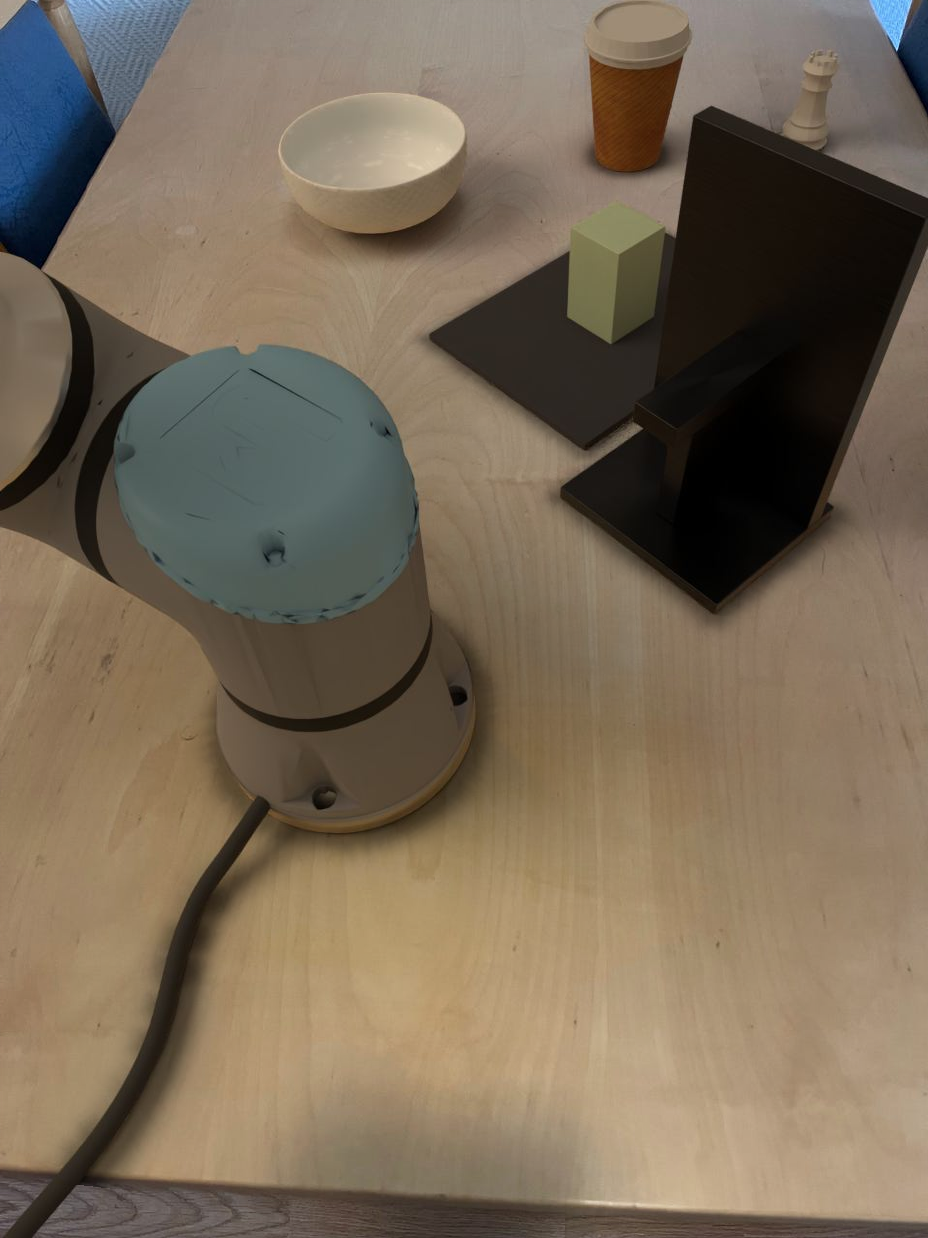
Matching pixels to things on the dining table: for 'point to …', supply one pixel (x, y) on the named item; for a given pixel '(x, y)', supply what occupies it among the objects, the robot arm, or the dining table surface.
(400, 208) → the cereal bowl
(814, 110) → the rook chess piece
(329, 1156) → the dining table surface
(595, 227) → the sage block
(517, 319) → the desk mat
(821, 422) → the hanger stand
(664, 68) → the disposable coffee cup
